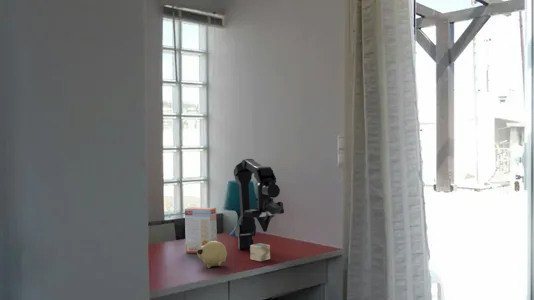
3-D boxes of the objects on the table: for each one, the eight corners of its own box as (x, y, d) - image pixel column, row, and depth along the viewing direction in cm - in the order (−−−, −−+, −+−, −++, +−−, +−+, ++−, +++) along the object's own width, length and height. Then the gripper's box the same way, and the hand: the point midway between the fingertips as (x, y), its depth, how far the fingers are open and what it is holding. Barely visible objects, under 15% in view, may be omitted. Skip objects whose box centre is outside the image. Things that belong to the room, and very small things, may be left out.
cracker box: (217, 252, 234) (216, 207, 234) (211, 255, 229) (210, 209, 229) (192, 250, 240) (191, 206, 240) (185, 252, 235) (184, 208, 235)
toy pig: (203, 263, 213) (203, 238, 213) (230, 264, 210) (229, 239, 210) (194, 268, 204) (193, 242, 204) (221, 270, 200) (221, 243, 200)
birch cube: (269, 244, 216) (270, 259, 216) (260, 243, 220) (260, 257, 220) (259, 246, 212) (259, 261, 212) (250, 245, 216) (250, 259, 216)
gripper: (260, 198, 206) (261, 236, 206) (292, 195, 219) (293, 230, 219) (243, 197, 214) (244, 233, 214) (274, 193, 227) (275, 228, 227)
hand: (265, 231), depth 218 cm, fingers closed
